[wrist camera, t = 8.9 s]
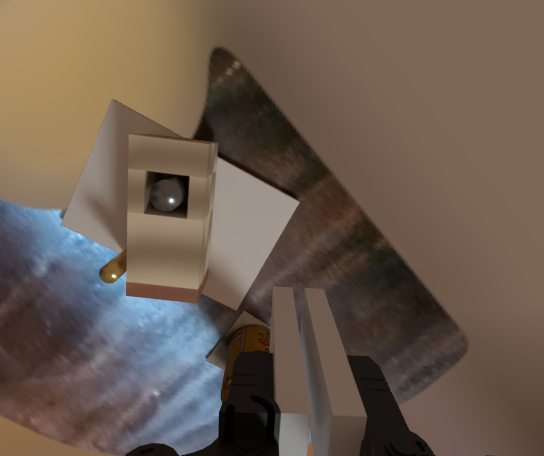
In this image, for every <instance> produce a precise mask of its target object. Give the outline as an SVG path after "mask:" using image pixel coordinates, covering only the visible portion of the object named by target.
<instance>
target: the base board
mask: <svg viewBox="0 0 544 456" xmlns="http://www.w3.org/2000/svg"><path fill="white" fill-rule="evenodd" d="M129 134H156V135H164V136H172V137H180V138H183V137H182V136H180V135H178V134H176V133H174V132H172V131H171V130H169V129H167V128H165V127H163V126H162V125H160V124H158V123H156V122H154V121H152V120H150V119H149V118H147V117H145V116H143V115H141V114H140V113H138V112H136V111H134V110H132V109H131V108H129V107H127V106H125V105H123V104H121V103H119V102H118V101H116V100H112V101H111V103H110V106H109V108H108V111H107V113H106V115H105V118H104V120H103V123H102V125H101V128H100V130H99V133H98V135H97V138H96V140H95V142H94V145H93V147H92V150H91V152H90V154H89V157H88V159H87V162H86V164H85V167H84V169H83V171H82V174H81V177H80V179H79V181H78V184H77V186H76V189H75V191H74V193H73V196H72V198H71V201H70V203H69V206H68V208H67V210H66V213H65V215H64V218H63V220H62V223H61V225H62V226H64V227H66V228H68V229H70V230H72V231H74V232H77V233H79V234H81V235H83V236H85V237H87V238H89V239H91V240H93V241H95V242H97V243H99V244H101V245H103V246H105V247H107V248H109V249H111V250H113V251H115V252H117V253H119V254H120V253H121V252H122V251H123V250H125V249H126V248H127V210H128V148H129ZM172 175H174V174H169V173H164V179H165V178H168V177H170V176H172ZM181 204H187V205H188V198H187V199H186V200H185V201H184V202H182V203H181ZM298 204H299V201H298V200H297V199H295V198H293V197H291V196H289V195H287V194H286V193H284V192H282V191H280V190H278V189H276V188H275V187H273V186H271V185H269V184H267V183H266V182H264V181H262V180H260V179H258V178H256V177H255V176H253V175H251V174H249V173H247V172H245V171H244V170H242V169H240V168H238V167H236V166H235V165H233V164H231V163H229V162H227V161H225V160H224V159H222V158H220V157H218V156H217V166H216V179H215V191H214V204H213V216H212V229H211V241H210V254H209V267H208V279H207V282H206V284H205V286H204V289H203V291H202V293H201V294H203V295H205V296H207V297H209V298H212V299H214V300H216V301H218V302H220V303H222V304H224V305H226V306H228V307H230V308H232V309H234V310H236V311H237V309H238V307H239V306H240V304H241V302H242V301H243V299H244V297H245V295H246V294H247V292H248V290H249V288H250V287H251V285H252V283H253V282H254V280H255V278H256V276H257V275H258V273H259V271H260V269H261V268H262V266H263V264H264V263H265V261H266V259H267V257H268V256H269V254H270V252H271V250H272V249H273V247H274V245H275V244H276V242H277V240H278V238H279V237H280V235H281V233H282V231H283V230H284V228H285V226H286V225H287V223H288V221H289V219H290V218H291V216H292V214H293V213H294V211H295V209H296V207H297V206H298Z"/></svg>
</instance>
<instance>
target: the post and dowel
mask: <svg viewBox="0 0 544 456" xmlns="http://www.w3.org/2000/svg"><path fill="white" fill-rule="evenodd" d="M189 180H190V176H185V175H177V174H174V175H172V176H170V177H168V178H165V179H163V180H161V181H158V182H156V183H155V184H154V185H153V186H152V187H151V189H150V192H149V198H150V201H151V203H152V204H153V206H154V207H155V208H157V209H158V210H161V211H171V210H173V209H175V208H176V207H177V206H179V205H180V204H181V203H182V202H184V201H185V200H186V199H187V198H188V196H189ZM126 271H127V248H126V249H125V250H123V251H122V252H121V253H120V254H118V255H117V256H116V257H115V258H113V259H112V260H111V261H110V262H108V263H107V264H106V265H105V266H103V267H102V268H101V269H100V272H99V275H100V278H101V279H102V280H103V281H104V282H106V283H114V282H115V281H116V280H117V279H118V278H119V277H120V276H122V275H123V274H124V273H125V272H126Z"/></svg>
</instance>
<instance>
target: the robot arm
mask: <svg viewBox="0 0 544 456" xmlns="http://www.w3.org/2000/svg"><path fill="white" fill-rule="evenodd" d="M309 428H310V431H311V438H312V446H313V453H314V456H435V455H434V454H433V452H432V450H431V449H430V448H429V446H428V444H427V443H426V442H425V441H424V440H423V439H422V438H420V437H419V436H418V435H417V434H415V433H413V432H411V431H410V430H409V428H408V426H407V424H406V422H405V420H404V418H403V416H402V413H401V411H400V409H399V407H398V405H397V403H396V401H395V398H394V396H393V394H392V392H390V388H389V386H388V383H387V382H386V381H385V377H384V375H383V373H382V371H381V369H380V367H379V366H378V365H377V364H376V363H375V362H374V361H373V360H372V359H371V358H370V357H369V356H351V355H346V353H345V351H344V348H343V345H342V342H341V339H340V336H339V333H338V330H337V327H336V324H335V321H334V318H333V316H332V313H331V310H330V307H329V304H328V301H327V298H326V295H325V292H324V289H311V288H304V299H303V310H302V322H301V333H300V336H299V330H298V323H297V316H296V309H295V302H294V296H293V289H292V288H291V287H273V299H272V315H271V330H270V346H269V353H262V352H241V353H240V355H239V356H238V357H237V358H236V359H235V361H234V363H233V370H232V376H231V383H230V389H229V396H228V399H227V400H226V401H225V402H223V404H222V406H221V409H220V411H219V437H218V438H217V439H216V440H215V441H214V442H213V443H212V444H211V445H209V446H207V447H206V448H204V449H202V450H199V451H196V452H193V453H190V454H186V455H182V456H307V447H308V437H309ZM125 456H179V455H178V454H177V452H176V451H175V450H174V448H172V447H169V446H167V445H165V444H157V443H151V444H147V445H143V446H139V447H137V448H136V449H134V450H132V451H131V452H129V453H127V454H126V455H125Z"/></svg>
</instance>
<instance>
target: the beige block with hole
mask: <svg viewBox="0 0 544 456" xmlns="http://www.w3.org/2000/svg"><path fill="white" fill-rule="evenodd" d="M217 154H218V142H212V141H204V140H196V139H188V138H180V137H172V136H164V135H156V134H129V148H128V210H127V272H126V296H133V297H143V298H152V299H161V300H171V301H180V302H189V303H198V300H199V298H200V296H201V293H202V291H203V289H204V286H205V284H206V282H207V279H208V267H209V254H210V241H211V229H212V216H213V204H214V191H215V179H216V166H217ZM164 173H169V174H177V175H185V176H190V180H189V196H188V205H187V204H180V205H179V206H177V207H176V208H175V209H173V210H171V211H161V210H158V209H157V208H155V207H154V206H153V204H152V203H151V201H150V198H149V192H150V189H151V187H152V186H153V185H154V184H155V183H156V182H158V181H161V180H163V179H164Z"/></svg>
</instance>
